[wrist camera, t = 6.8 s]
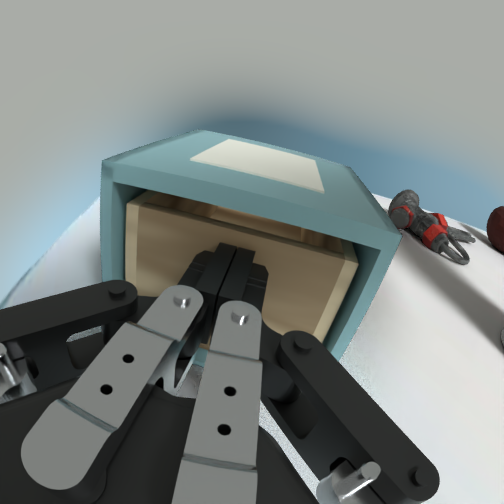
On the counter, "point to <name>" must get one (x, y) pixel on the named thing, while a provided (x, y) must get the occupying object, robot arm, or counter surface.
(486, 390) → the counter surface
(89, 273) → the counter surface
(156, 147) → the sleeve
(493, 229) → the potato
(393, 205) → the valve
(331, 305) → the wooden drawer
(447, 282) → the counter surface
